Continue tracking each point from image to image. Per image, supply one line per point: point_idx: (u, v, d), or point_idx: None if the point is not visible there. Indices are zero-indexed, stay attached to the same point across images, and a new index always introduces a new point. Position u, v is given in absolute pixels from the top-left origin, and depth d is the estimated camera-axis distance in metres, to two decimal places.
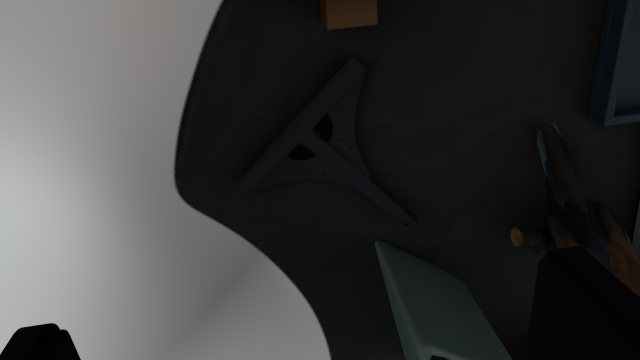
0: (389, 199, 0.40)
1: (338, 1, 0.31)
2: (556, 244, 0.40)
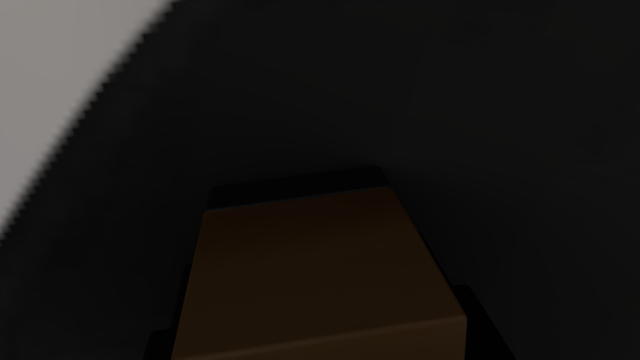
0: None
1: None
2: None
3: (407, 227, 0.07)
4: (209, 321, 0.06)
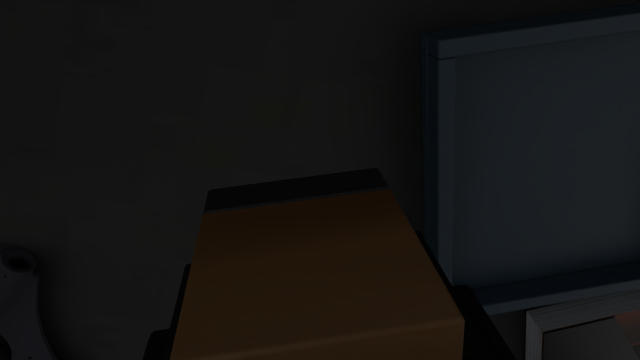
0: None
1: None
2: None
3: (405, 229, 0.07)
4: (207, 325, 0.06)
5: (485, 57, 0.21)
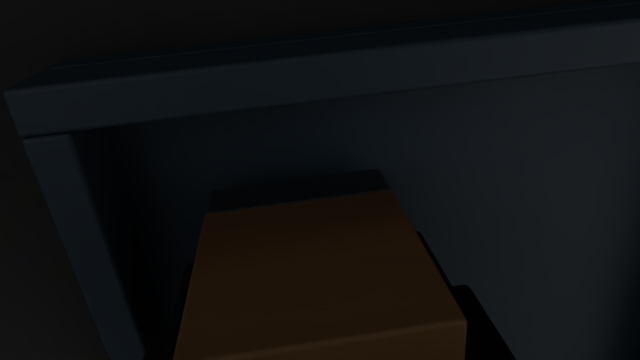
0: None
1: None
2: None
3: (407, 230, 0.07)
4: (210, 325, 0.06)
5: (207, 121, 0.09)
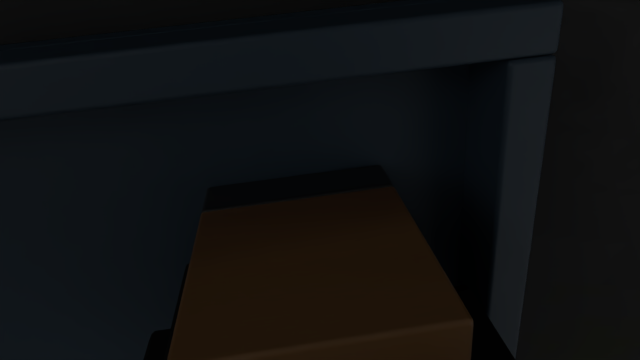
0: None
1: None
2: None
3: (410, 227, 0.07)
4: (206, 325, 0.05)
5: None
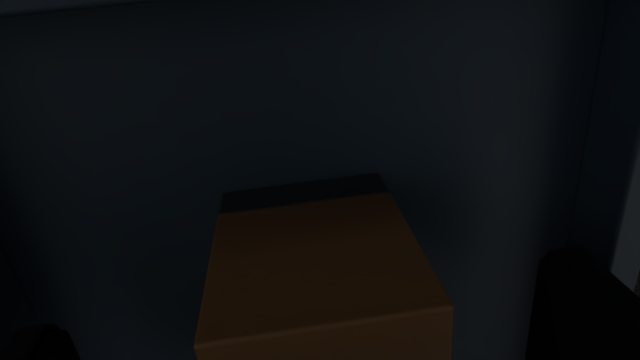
0: None
1: None
2: None
3: (403, 229, 0.08)
4: (227, 312, 0.06)
5: (29, 45, 0.08)
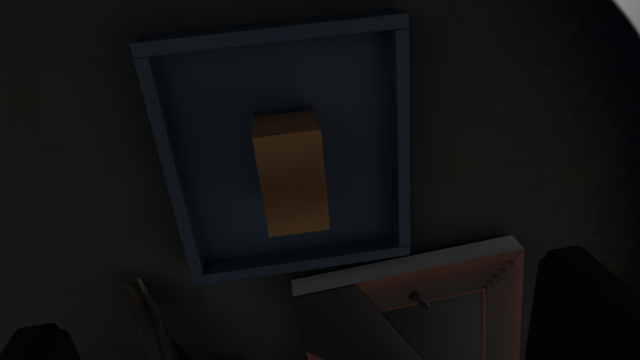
0: None
1: (280, 209, 0.25)
2: None
3: (313, 117, 0.25)
4: (260, 133, 0.24)
5: (192, 58, 0.25)
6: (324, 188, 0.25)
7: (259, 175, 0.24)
